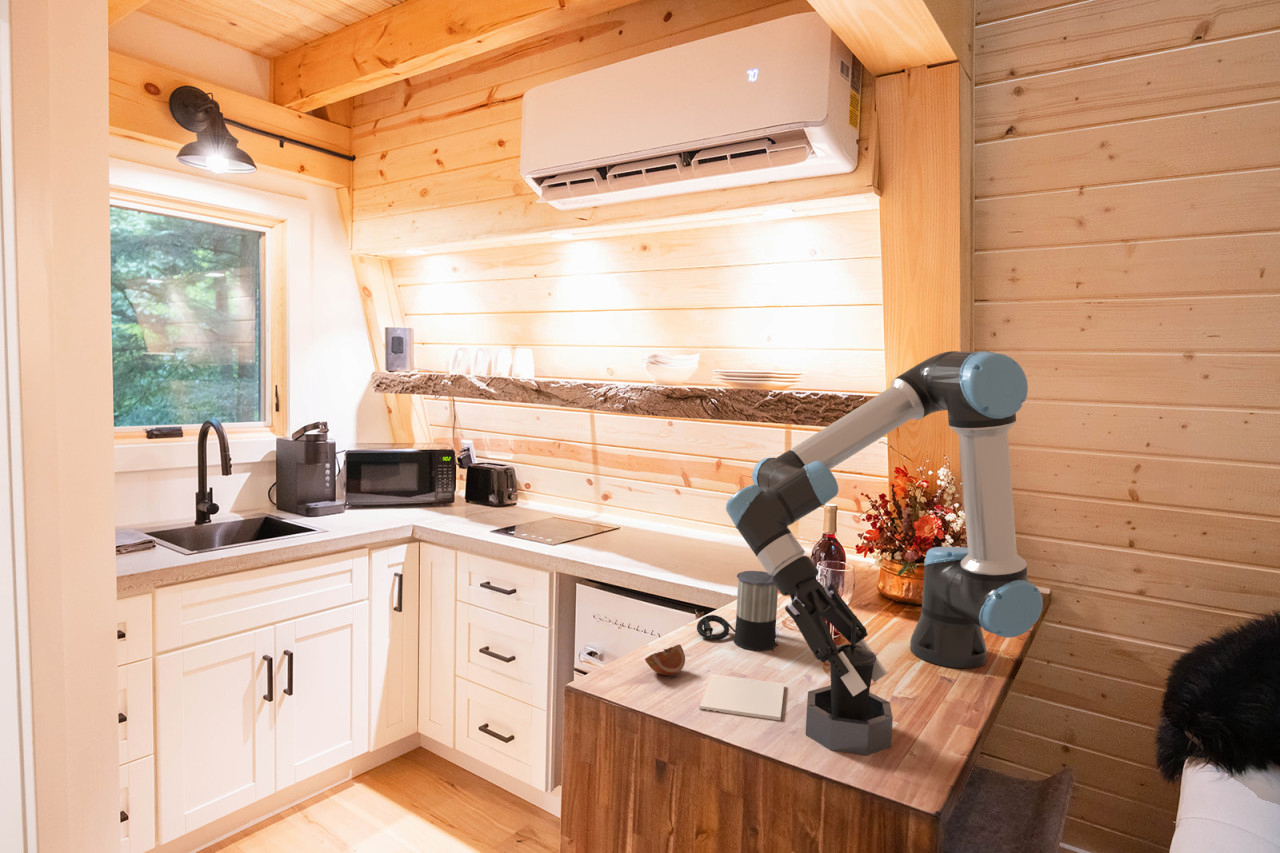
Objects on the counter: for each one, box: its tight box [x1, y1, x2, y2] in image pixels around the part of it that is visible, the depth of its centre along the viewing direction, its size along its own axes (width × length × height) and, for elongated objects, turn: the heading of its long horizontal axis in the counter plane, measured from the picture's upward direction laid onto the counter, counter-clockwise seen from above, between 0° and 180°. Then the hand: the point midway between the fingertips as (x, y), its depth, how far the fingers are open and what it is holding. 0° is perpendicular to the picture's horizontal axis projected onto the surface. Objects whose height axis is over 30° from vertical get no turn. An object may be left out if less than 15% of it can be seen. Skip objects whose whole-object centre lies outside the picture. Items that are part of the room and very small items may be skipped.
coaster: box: [699, 673, 785, 721], centre depth 141 cm, size 14×14×1 cm
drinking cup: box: [829, 615, 877, 721], centre depth 128 cm, size 8×8×20 cm
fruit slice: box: [644, 644, 686, 676], centre depth 150 cm, size 8×7×5 cm
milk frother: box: [696, 570, 779, 652], centre depth 168 cm, size 14×16×15 cm
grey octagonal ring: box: [805, 684, 894, 756], centre depth 129 cm, size 13×13×5 cm
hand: (870, 684), depth 126 cm, fingers closed on drinking cup, 7 cm apart
